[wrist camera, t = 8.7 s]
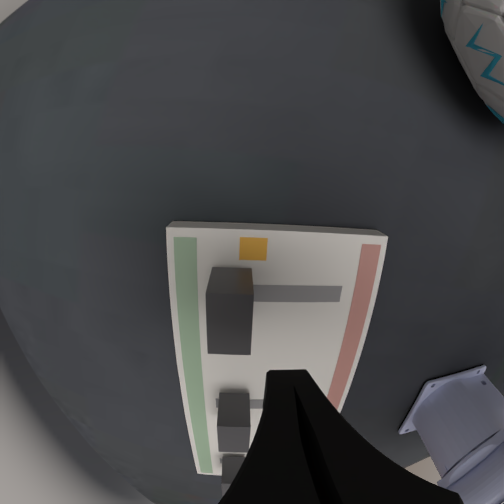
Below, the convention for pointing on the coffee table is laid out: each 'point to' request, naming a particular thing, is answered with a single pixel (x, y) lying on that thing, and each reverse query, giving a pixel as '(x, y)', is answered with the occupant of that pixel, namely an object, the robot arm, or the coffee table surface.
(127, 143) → the coffee table surface
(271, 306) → the breaker panel
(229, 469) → the block
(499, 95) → the puzzle ball
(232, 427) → the breaker
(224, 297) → the block
